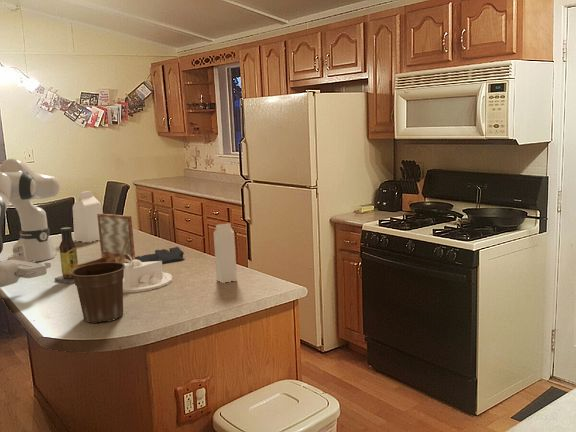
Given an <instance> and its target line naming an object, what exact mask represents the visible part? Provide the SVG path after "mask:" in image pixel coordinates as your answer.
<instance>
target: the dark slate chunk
mask: <svg viewBox="0 0 576 432" xmlns="http://www.w3.org/2000/svg"><path fill="white" fill-rule="evenodd" d="M183 257H184V251H183V250H182V249H180V248H179V246H175V247H170V248H169V250H168V249H164V248H162V249H156V250H154V253H148V254H143V255H137V256H135V259H137V260H140V261H141V262H152V261H162V265H166V264H172V263H179V262H183V261H185V260H186V259H185V258H183Z"/></svg>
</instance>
